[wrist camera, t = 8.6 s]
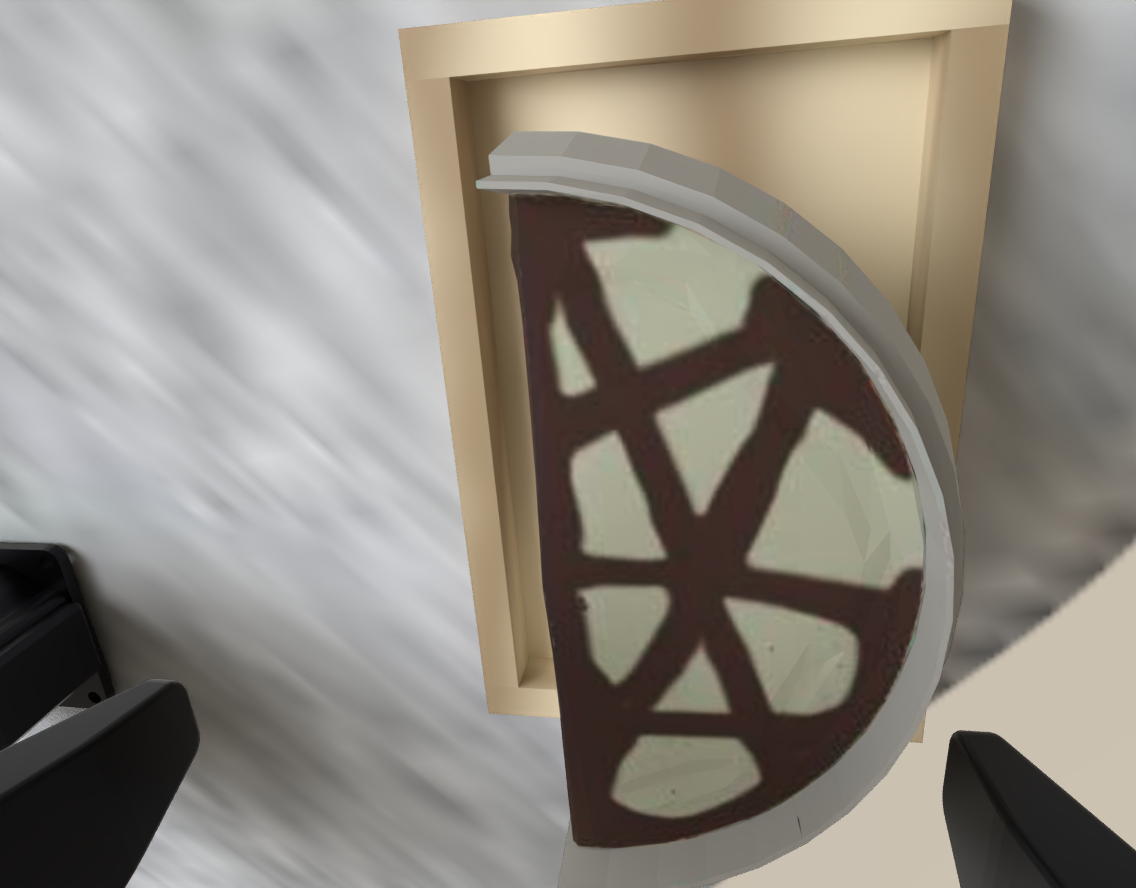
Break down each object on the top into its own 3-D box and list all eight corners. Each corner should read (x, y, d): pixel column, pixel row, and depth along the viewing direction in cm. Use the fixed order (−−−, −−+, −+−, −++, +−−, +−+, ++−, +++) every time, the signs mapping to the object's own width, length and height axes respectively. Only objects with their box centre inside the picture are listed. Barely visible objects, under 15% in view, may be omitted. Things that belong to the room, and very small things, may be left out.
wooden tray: (505, 670, 25) (488, 712, 23) (430, 40, 18) (398, 29, 16) (905, 693, 22) (922, 742, 21) (982, -18, 16) (1016, -38, 14)
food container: (849, 601, 21) (953, 964, 12) (623, 595, 22) (559, 919, 13) (880, 109, 16) (1085, 75, 7) (596, 132, 18) (468, 130, 9)
